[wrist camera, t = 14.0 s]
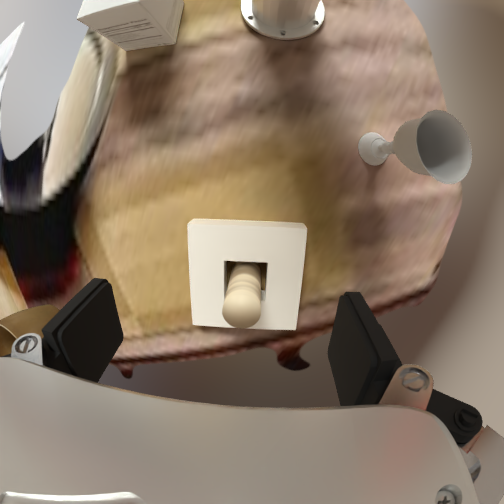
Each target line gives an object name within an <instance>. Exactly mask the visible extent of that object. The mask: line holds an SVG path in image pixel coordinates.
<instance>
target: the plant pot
mask: <svg viewBox="0 0 504 504" xmlns="http://www.w3.org/2000/svg"><path fill="white" fill-rule="evenodd" d="M58 312H59V310H58V309H57V308H56V307H55V306H53V305H42V306H37V307H33V308H29V309H26V310H22V311H20V312H17V313H14V314H12V315H10V316H8V317H5V318H3V319H1V320H0V357H1V356H5V355H8V354H11V351H12V345H13V343H14V342H15V340H16V339H18V338H19V337H20V336H22V335H25V334H28V333H35V334H38V335H39V336H40V337H41V339H42V338H43V337H44V335H43V333H42V331H41V329H42V328H43V327H44V326H45V325H46V324H47V323H48V322H49V321H50V320H51V319H52V318H53V317H54V316H55V315H56V314H57V313H58Z"/></svg>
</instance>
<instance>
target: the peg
mask: <svg viewBox="0 0 504 504" xmlns="http://www.w3.org/2000/svg"><path fill="white" fill-rule="evenodd" d="M222 315H223V318H224V319H225V321H226V322H227V323H228V324H229V325H231V326H233V327H235V328H241V329H244V328H249V327H251V326H253V325H255V324H256V323H257V322H258V320H259V319H260V316H261V269H260V266H259V265H258V263H257V262H243V261H237V262H236V263H235V264H234V266H233V268H232V272H231V276H230V280H229V284H228V288H227V292H226V296H225V300H224V304H223V308H222Z"/></svg>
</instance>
